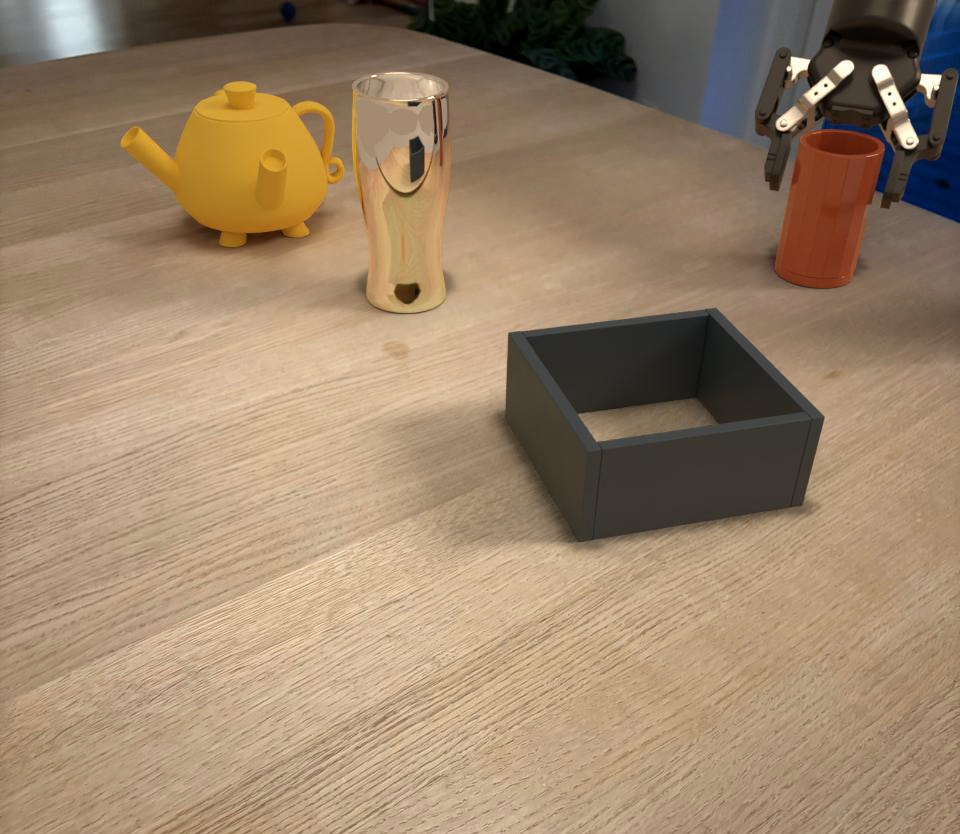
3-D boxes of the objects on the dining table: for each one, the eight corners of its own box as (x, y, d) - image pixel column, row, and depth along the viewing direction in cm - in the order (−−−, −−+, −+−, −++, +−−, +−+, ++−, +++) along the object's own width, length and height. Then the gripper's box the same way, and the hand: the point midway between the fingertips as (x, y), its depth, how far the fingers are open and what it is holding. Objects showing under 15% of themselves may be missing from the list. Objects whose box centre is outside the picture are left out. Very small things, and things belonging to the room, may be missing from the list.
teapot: (133, 243, 92) (106, 98, 85) (219, 187, 102) (201, 53, 94) (289, 273, 89) (275, 125, 81) (363, 212, 98) (357, 75, 91)
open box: (700, 403, 74) (716, 307, 70) (799, 520, 65) (825, 416, 60) (504, 431, 71) (507, 332, 67) (577, 557, 62) (587, 451, 57)
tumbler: (835, 254, 93) (865, 128, 86) (865, 286, 88) (898, 155, 82) (763, 257, 92) (787, 130, 86) (789, 290, 88) (817, 158, 81)
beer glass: (374, 272, 89) (365, 66, 79) (460, 281, 88) (461, 74, 78) (349, 311, 84) (335, 96, 74) (440, 321, 83) (438, 104, 73)
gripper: (794, -48, 85) (736, 156, 85) (992, -28, 81) (931, 186, 81) (792, 15, 92) (738, 203, 92) (973, 36, 88) (918, 232, 88)
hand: (829, 195), depth 86 cm, fingers open, 8 cm apart
